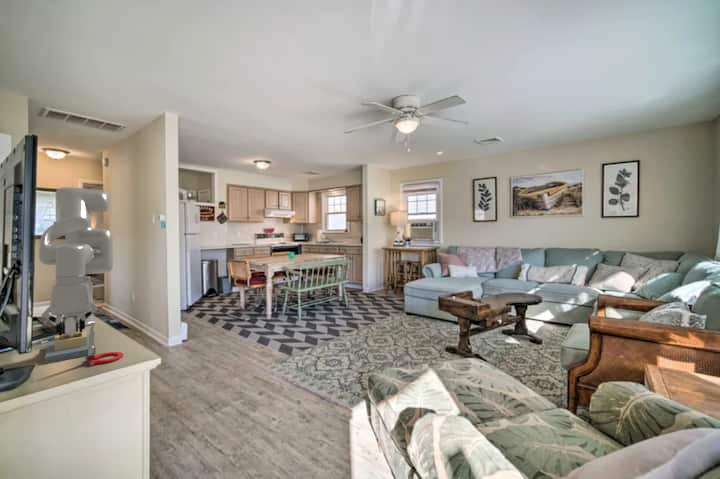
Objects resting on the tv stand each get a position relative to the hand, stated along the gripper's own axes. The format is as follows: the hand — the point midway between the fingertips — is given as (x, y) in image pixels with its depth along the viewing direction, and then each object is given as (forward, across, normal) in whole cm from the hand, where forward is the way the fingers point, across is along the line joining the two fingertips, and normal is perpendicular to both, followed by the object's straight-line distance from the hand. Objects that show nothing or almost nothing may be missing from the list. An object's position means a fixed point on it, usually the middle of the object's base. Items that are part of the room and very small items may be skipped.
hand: (70, 332), depth 108 cm
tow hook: (+7, -8, +17) cm, 20 cm away
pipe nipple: (+4, 0, 0) cm, 4 cm away
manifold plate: (+6, 0, 0) cm, 6 cm away
